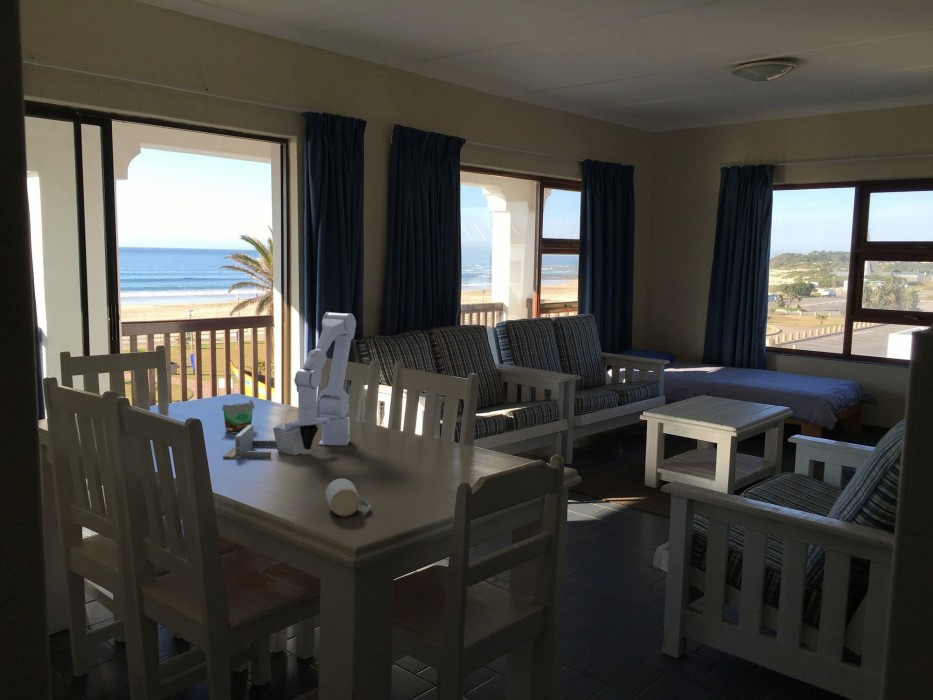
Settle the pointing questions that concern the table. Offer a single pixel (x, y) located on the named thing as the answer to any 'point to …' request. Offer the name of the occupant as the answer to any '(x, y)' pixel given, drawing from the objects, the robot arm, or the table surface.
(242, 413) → the food container
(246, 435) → the door panel
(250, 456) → the keeper cleats
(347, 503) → the ceramic mug
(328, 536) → the table surface
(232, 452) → the threshold strip
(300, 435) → the medicine box
